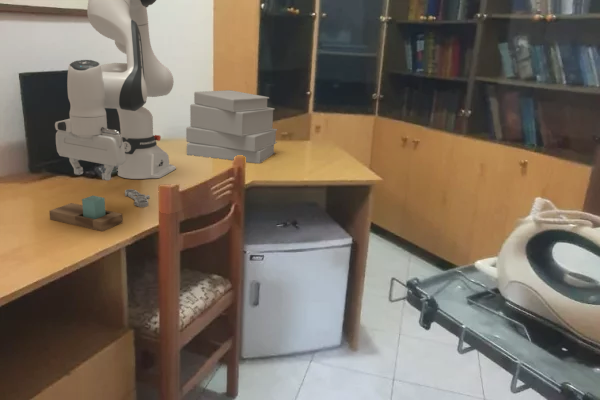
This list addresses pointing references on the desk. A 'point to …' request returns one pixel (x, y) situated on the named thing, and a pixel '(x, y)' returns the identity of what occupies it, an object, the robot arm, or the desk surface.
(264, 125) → the book stack
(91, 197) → the teal square prism
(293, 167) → the desk surface
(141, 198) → the bracket
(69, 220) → the brown frame
